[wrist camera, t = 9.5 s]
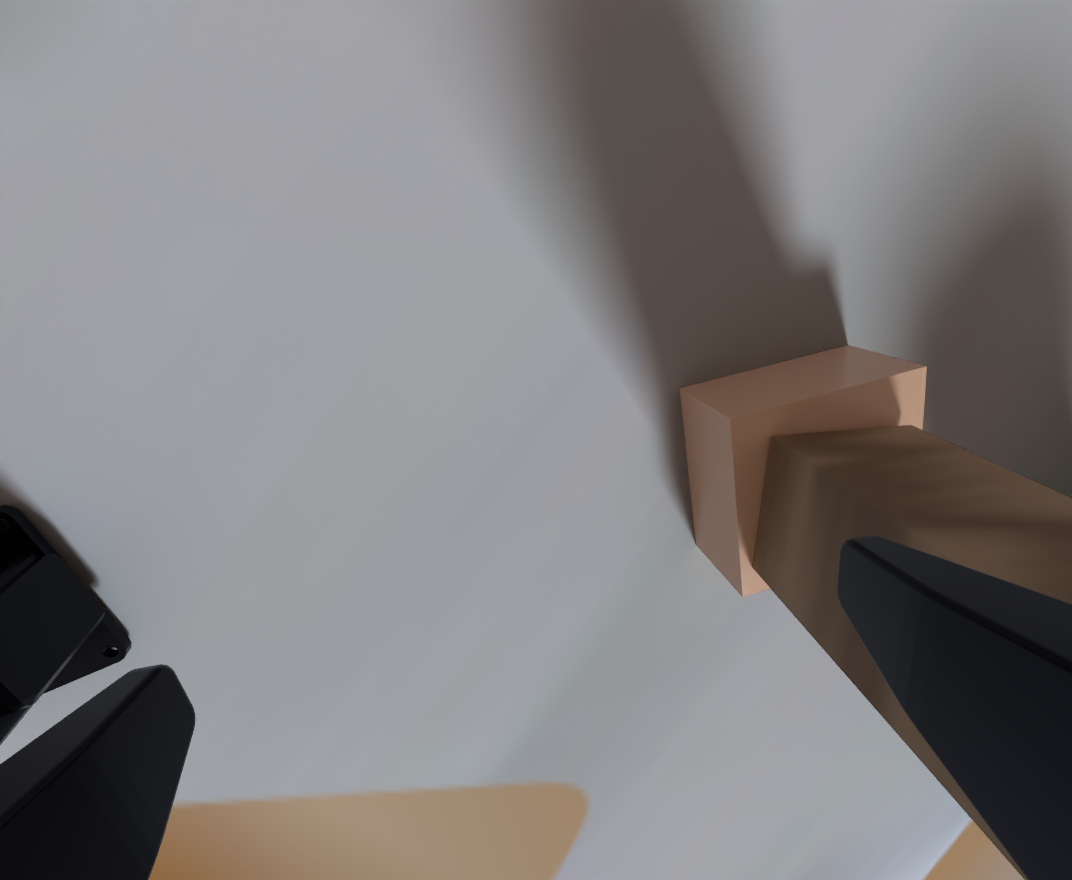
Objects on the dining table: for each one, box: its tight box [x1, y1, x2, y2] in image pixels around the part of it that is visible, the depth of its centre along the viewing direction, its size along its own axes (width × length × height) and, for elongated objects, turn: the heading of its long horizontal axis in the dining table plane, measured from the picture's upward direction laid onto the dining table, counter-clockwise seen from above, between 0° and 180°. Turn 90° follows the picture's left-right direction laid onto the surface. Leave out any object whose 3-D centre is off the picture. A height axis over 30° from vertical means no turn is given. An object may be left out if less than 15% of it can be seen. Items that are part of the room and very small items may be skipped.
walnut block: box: [752, 425, 1072, 880], centre depth 14 cm, size 5×5×13 cm
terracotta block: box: [680, 345, 927, 597], centre depth 21 cm, size 7×7×4 cm
